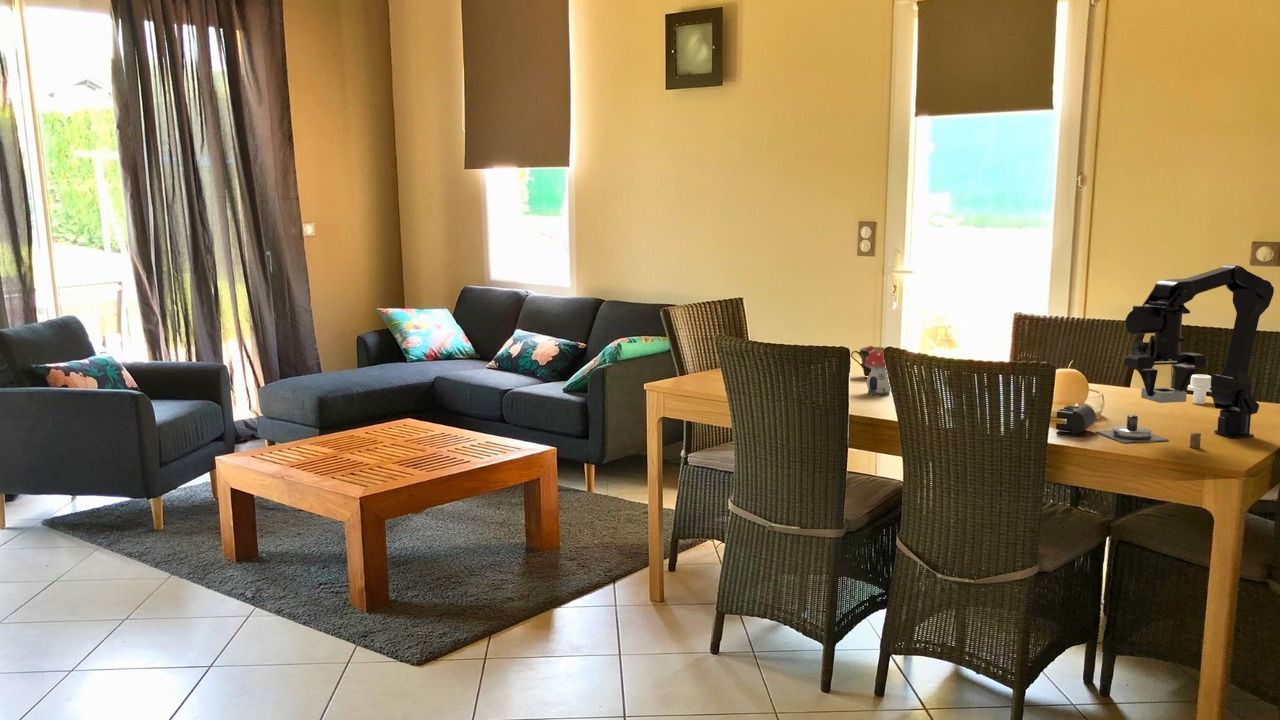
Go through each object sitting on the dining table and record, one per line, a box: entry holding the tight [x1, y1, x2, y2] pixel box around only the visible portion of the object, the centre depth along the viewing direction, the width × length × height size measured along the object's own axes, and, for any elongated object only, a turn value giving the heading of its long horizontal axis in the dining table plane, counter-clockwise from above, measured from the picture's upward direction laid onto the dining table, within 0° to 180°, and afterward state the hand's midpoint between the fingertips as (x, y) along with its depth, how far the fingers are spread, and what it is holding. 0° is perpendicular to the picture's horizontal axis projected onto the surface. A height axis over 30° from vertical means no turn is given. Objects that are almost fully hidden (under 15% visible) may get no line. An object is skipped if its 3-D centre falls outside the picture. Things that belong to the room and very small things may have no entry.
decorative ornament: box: [865, 345, 891, 396], centre depth 317 cm, size 9×7×15 cm
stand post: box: [1189, 431, 1202, 449], centre depth 245 cm, size 2×2×4 cm
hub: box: [1095, 414, 1170, 444], centre depth 257 cm, size 12×12×5 cm
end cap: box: [1055, 404, 1097, 437], centre depth 262 cm, size 10×7×7 cm
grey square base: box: [1140, 386, 1188, 404], centre depth 249 cm, size 7×7×2 cm
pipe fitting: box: [1187, 374, 1212, 405], centre depth 297 cm, size 6×7×8 cm
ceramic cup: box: [850, 346, 885, 376], centre depth 347 cm, size 13×10×10 cm
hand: (1163, 395), depth 249 cm, fingers closed on grey square base, 7 cm apart
